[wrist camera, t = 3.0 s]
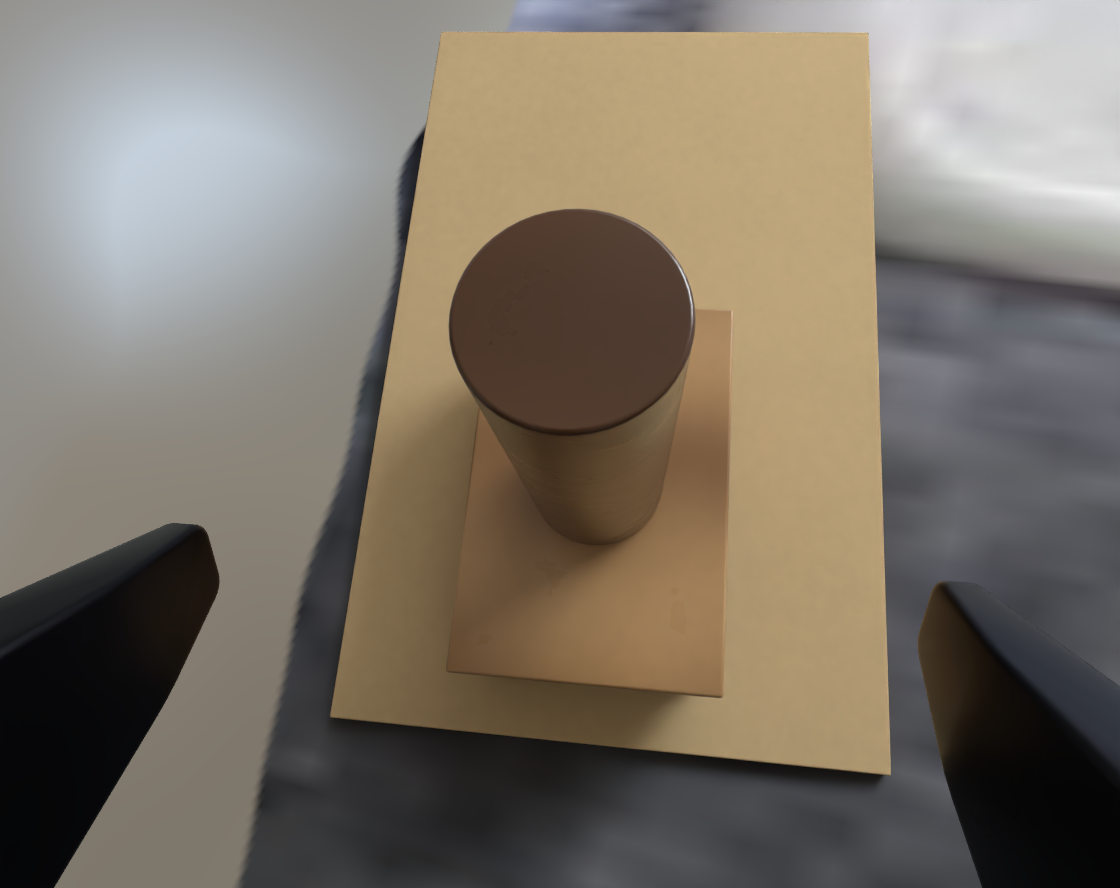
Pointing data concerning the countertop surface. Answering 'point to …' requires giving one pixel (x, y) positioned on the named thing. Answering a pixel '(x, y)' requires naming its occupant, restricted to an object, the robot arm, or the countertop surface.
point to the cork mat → (757, 377)
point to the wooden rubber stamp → (592, 461)
